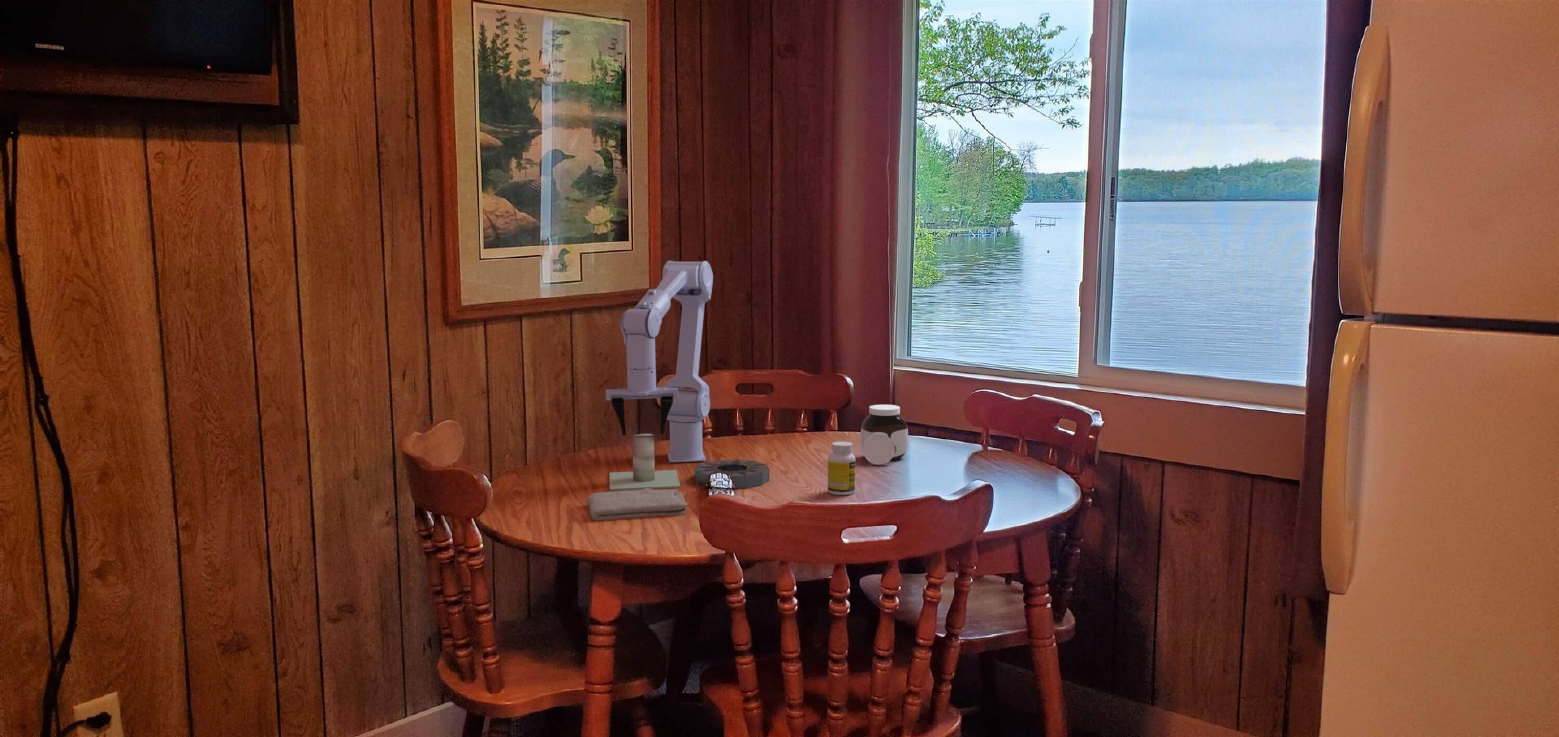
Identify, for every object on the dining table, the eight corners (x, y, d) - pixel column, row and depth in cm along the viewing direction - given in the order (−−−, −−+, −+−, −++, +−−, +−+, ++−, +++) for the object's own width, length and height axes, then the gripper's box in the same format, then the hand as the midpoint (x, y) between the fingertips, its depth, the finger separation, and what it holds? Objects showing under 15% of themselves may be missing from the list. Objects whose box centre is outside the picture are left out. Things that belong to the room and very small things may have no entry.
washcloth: (690, 516, 198) (690, 500, 198) (591, 524, 194) (590, 507, 193) (680, 500, 209) (679, 485, 209) (585, 507, 205) (585, 491, 205)
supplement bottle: (853, 496, 210) (853, 446, 208) (825, 495, 211) (825, 445, 210) (857, 489, 215) (857, 441, 214) (830, 488, 216) (830, 440, 215)
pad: (609, 474, 229) (609, 472, 229) (676, 471, 231) (676, 469, 231) (609, 490, 215) (609, 488, 215) (680, 487, 217) (680, 485, 217)
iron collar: (693, 472, 230) (693, 461, 230) (763, 469, 232) (763, 458, 232) (699, 490, 215) (698, 477, 215) (773, 486, 218) (773, 474, 217)
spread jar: (897, 453, 248) (898, 402, 246) (919, 463, 237) (919, 411, 236) (848, 457, 244) (848, 406, 243) (868, 468, 234) (868, 414, 232)
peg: (632, 476, 225) (632, 434, 224) (654, 476, 225) (653, 433, 224) (633, 481, 220) (632, 438, 219) (655, 481, 221) (654, 437, 220)
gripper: (605, 371, 215) (607, 439, 217) (678, 369, 217) (679, 436, 219) (605, 366, 222) (607, 432, 224) (676, 364, 224) (677, 429, 226)
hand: (643, 433), depth 222 cm, fingers open, 7 cm apart
